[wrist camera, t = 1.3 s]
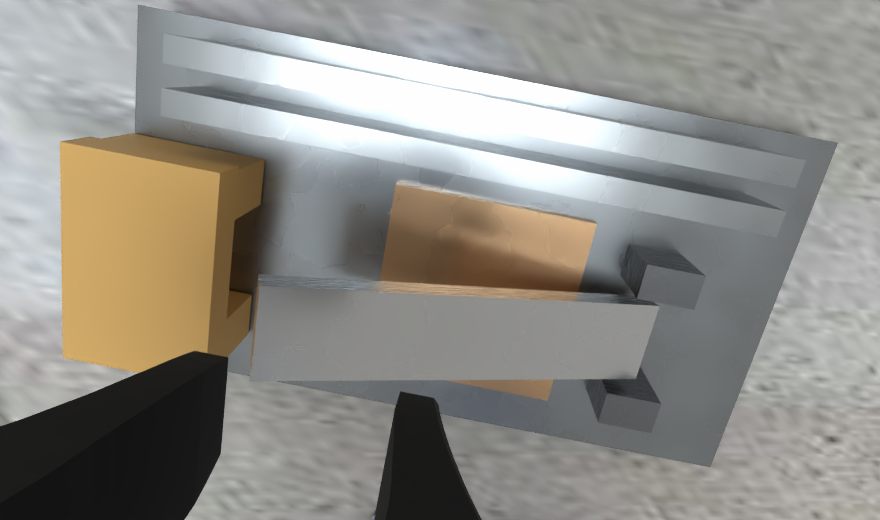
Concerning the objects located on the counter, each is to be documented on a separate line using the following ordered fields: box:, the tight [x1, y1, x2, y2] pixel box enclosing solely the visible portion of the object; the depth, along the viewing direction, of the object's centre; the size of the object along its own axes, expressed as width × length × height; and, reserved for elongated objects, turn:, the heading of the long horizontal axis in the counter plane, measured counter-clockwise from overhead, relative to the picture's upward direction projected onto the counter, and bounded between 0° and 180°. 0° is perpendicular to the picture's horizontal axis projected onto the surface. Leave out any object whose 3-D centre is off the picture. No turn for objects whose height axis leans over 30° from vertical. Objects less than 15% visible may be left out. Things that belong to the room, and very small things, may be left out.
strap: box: [250, 274, 660, 381], centre depth 16 cm, size 2×11×1 cm, turn 79°
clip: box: [60, 133, 265, 373], centre depth 17 cm, size 6×4×3 cm, turn 169°
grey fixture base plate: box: [135, 5, 838, 467], centre depth 18 cm, size 11×20×4 cm, turn 79°
